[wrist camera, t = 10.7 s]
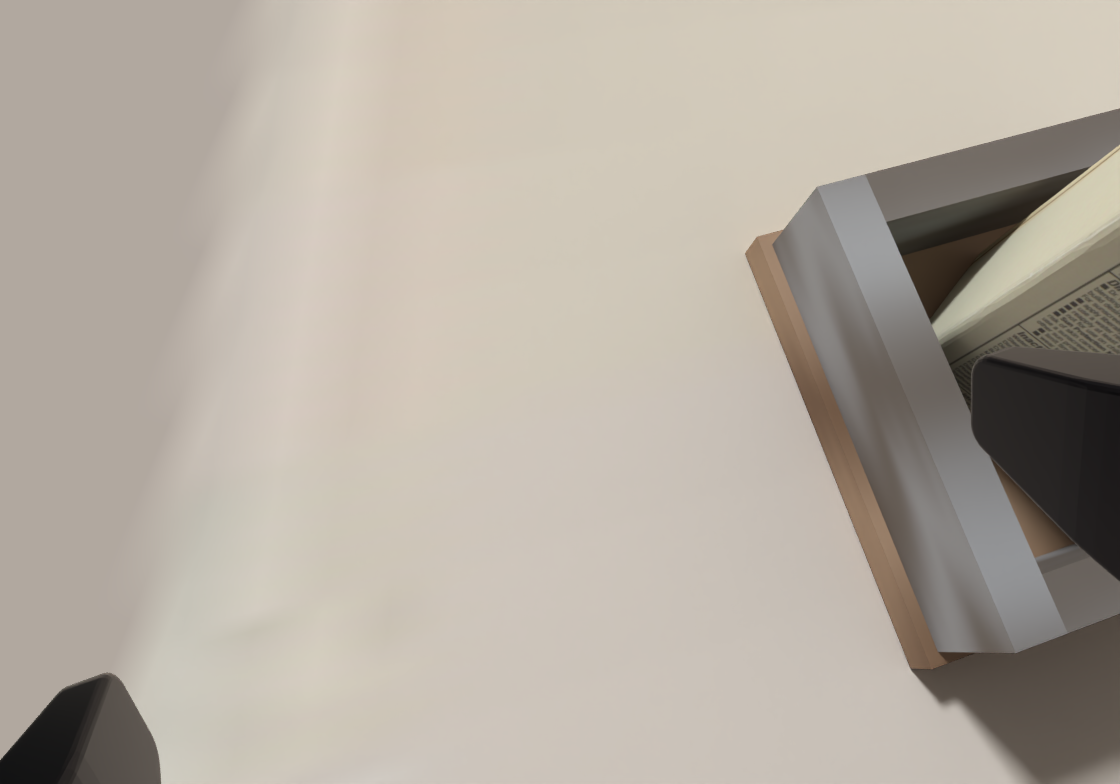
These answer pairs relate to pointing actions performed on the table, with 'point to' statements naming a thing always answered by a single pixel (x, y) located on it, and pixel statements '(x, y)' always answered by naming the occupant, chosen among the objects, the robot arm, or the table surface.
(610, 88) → the table surface
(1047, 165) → the socket
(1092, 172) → the skincare box
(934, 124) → the table surface
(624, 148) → the table surface
